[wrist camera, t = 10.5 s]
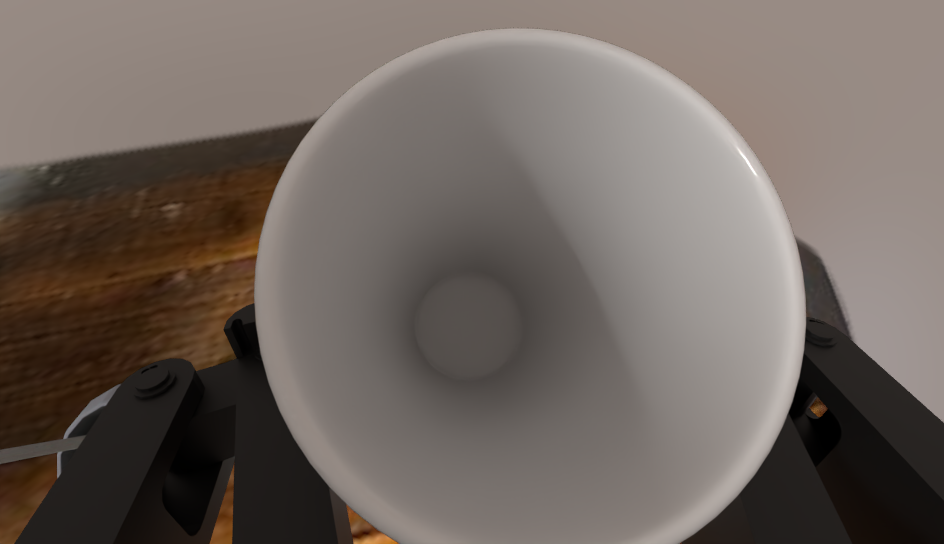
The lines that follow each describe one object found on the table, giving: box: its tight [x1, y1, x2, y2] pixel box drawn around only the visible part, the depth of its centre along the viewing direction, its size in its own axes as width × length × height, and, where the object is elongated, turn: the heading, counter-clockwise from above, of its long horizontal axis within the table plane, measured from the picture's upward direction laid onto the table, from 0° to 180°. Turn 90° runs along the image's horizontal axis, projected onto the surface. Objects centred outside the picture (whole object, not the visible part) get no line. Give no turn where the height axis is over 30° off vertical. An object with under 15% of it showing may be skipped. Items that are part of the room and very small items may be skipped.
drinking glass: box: [254, 28, 806, 544], centre depth 12 cm, size 7×7×15 cm
